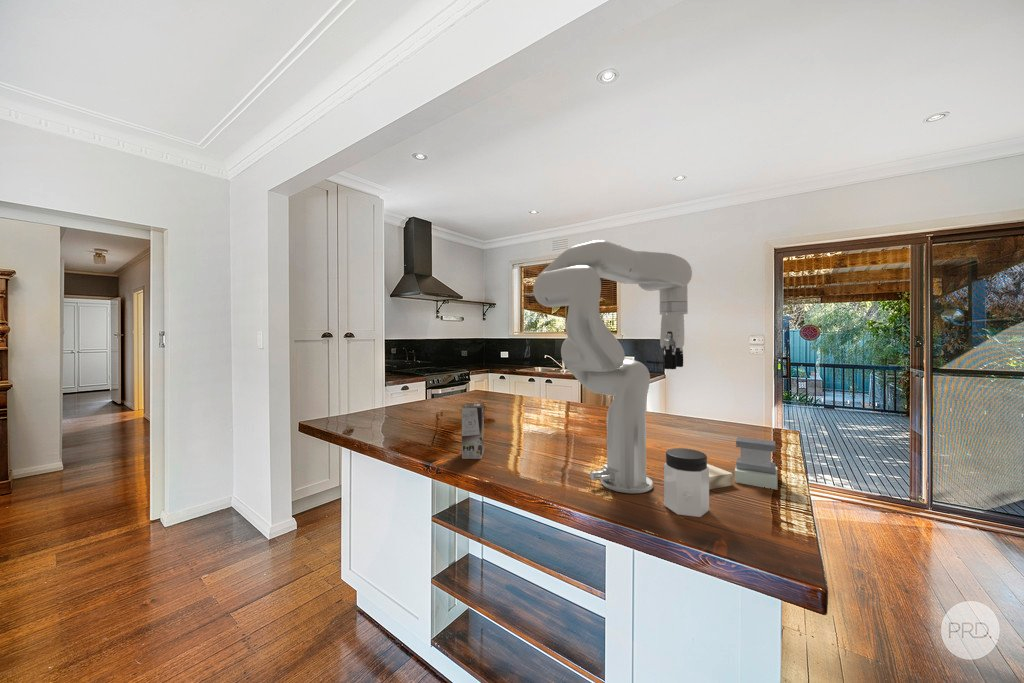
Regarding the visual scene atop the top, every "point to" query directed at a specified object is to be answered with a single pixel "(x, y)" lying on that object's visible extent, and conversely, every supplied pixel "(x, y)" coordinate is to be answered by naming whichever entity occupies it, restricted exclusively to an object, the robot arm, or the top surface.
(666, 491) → the jar
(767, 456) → the housing
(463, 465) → the top surface
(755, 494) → the top surface
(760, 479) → the stand
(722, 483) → the stand
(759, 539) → the top surface
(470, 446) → the coffee box
